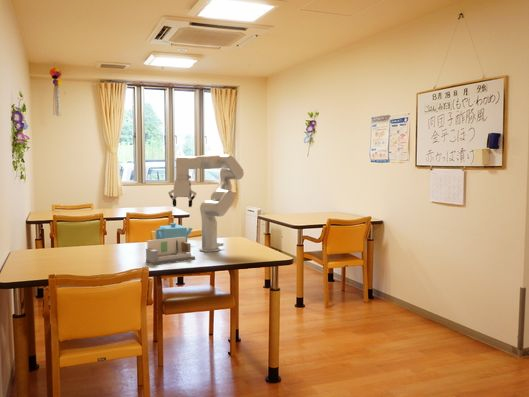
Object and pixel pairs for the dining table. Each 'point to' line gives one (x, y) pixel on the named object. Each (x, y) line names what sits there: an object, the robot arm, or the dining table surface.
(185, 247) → the gauge slider
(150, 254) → the gauge base
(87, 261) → the dining table surface
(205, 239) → the robot arm
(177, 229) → the container
